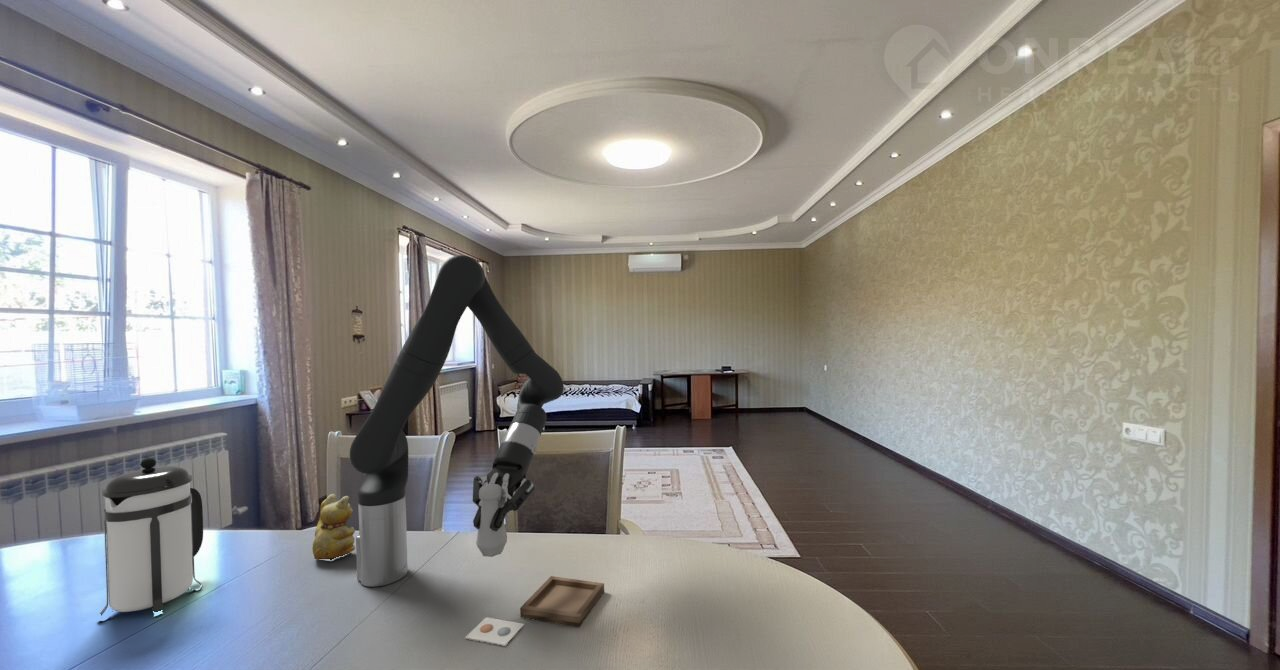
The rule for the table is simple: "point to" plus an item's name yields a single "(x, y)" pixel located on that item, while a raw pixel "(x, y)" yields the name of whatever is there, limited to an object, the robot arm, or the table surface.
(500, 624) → the card
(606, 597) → the table surface
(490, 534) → the salt shaker
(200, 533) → the coffee press
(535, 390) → the robot arm
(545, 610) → the walnut tray
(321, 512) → the decorative figurine
